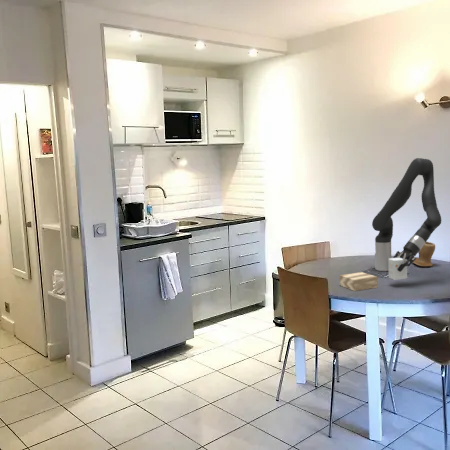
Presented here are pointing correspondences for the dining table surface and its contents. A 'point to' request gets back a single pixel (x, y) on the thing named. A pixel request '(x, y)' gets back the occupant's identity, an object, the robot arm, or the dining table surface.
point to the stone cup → (425, 254)
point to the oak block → (358, 281)
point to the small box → (393, 267)
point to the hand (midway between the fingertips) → (395, 269)
